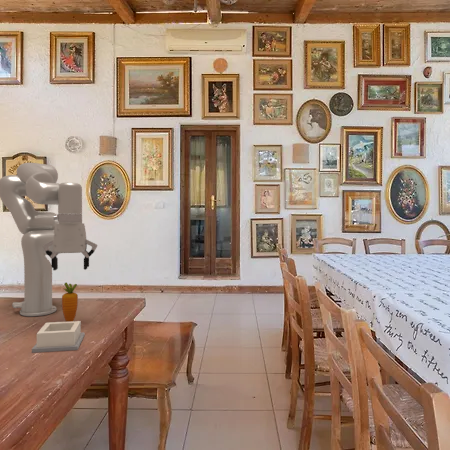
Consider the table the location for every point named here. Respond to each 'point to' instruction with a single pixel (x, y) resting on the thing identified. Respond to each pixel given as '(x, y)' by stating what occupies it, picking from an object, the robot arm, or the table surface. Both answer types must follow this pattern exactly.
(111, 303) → the table surface
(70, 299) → the carrot
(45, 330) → the holder
